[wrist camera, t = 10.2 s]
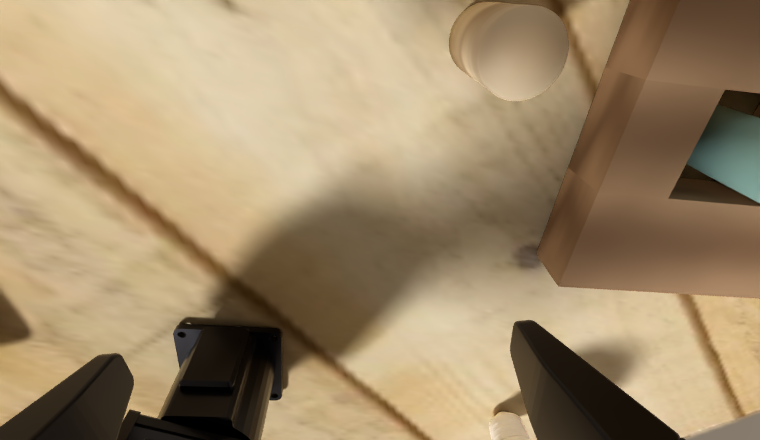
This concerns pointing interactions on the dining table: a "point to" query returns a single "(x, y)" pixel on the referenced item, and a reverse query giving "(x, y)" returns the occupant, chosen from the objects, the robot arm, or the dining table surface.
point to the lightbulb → (507, 427)
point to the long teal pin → (730, 151)
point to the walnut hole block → (660, 160)
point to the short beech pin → (510, 48)
